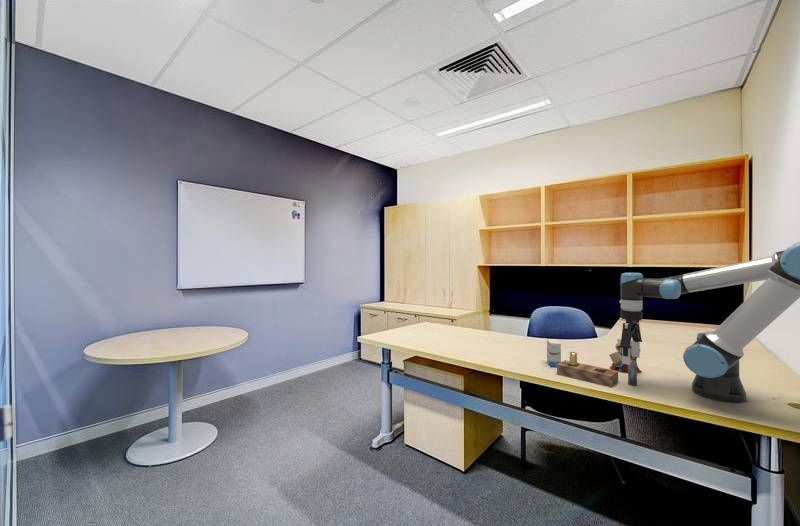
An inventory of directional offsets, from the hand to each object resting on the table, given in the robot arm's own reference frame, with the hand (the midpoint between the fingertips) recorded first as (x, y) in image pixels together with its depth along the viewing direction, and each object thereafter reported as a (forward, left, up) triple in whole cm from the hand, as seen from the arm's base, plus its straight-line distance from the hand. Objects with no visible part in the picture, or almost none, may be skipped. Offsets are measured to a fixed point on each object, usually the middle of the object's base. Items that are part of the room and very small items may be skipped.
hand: (631, 360), depth 139 cm
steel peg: (0, 0, -10) cm, 10 cm away
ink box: (+34, -3, -10) cm, 35 cm away
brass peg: (+21, +5, -10) cm, 24 cm away
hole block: (+16, +5, -10) cm, 19 cm away
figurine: (+7, -17, -10) cm, 21 cm away
